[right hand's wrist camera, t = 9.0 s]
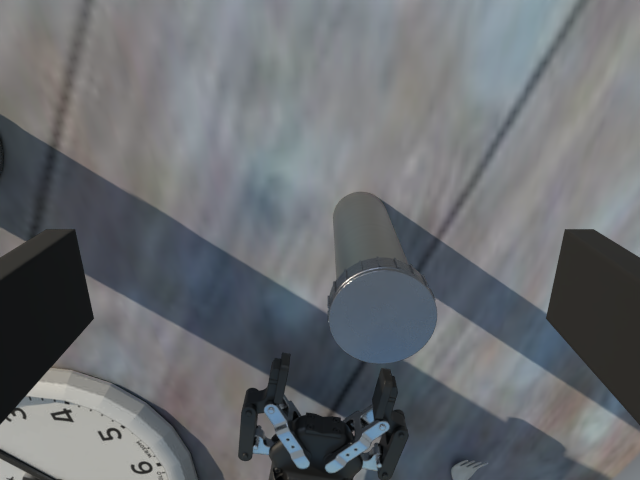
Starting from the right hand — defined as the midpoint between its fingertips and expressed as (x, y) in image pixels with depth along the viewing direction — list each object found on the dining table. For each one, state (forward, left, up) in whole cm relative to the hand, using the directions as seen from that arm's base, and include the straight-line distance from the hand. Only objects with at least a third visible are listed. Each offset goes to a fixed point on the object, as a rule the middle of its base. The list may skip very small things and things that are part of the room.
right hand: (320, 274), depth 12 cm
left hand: (0, +18, -20) cm, 27 cm away
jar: (-3, +7, -26) cm, 27 cm away
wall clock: (+30, +36, -26) cm, 54 cm away
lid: (-3, +7, -10) cm, 12 cm away
